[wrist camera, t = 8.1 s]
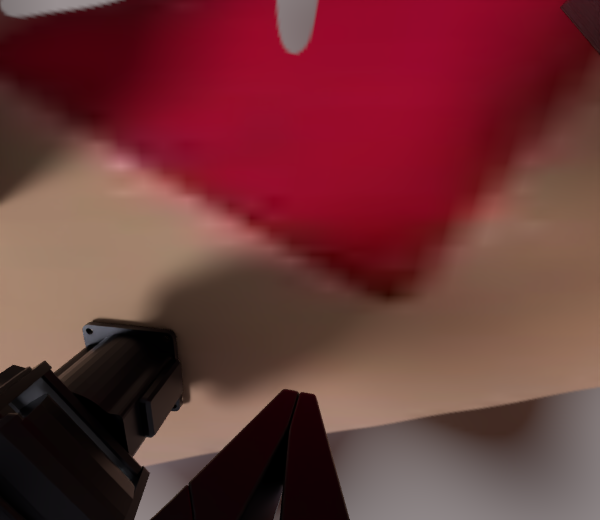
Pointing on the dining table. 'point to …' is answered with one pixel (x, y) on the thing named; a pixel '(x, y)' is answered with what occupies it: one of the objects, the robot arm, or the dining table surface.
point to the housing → (585, 18)
